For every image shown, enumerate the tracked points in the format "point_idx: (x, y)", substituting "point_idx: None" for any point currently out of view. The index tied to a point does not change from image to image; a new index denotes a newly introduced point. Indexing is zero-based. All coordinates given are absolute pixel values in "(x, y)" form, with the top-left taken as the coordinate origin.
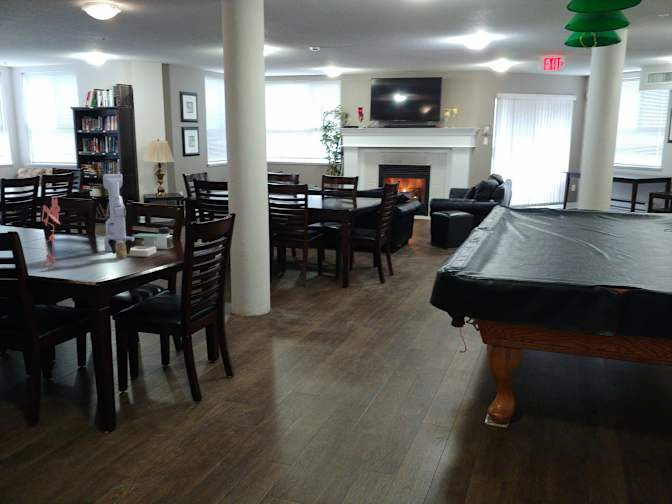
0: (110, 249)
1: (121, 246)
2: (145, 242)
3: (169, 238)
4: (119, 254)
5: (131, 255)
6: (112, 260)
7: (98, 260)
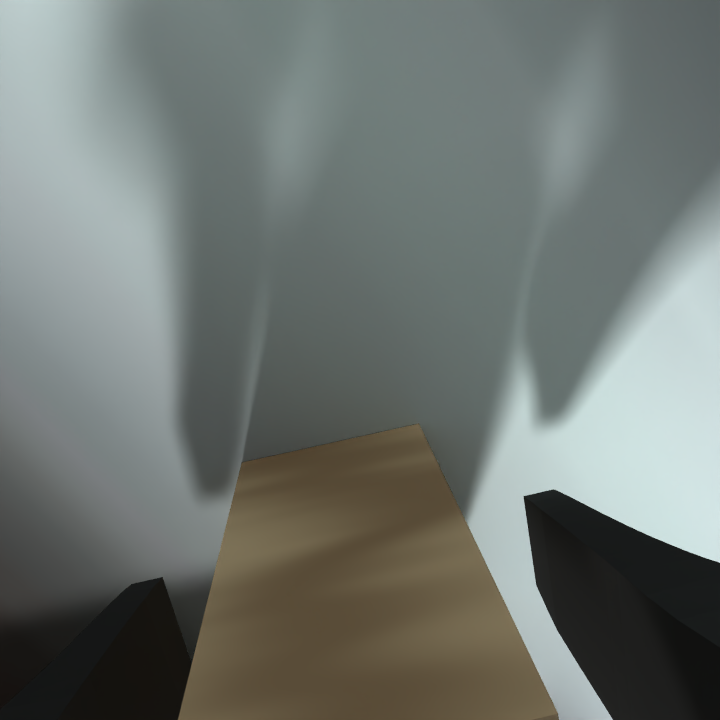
0: None
1: (244, 681)
2: None
3: None
4: (341, 486)
5: None
6: (350, 178)
7: (695, 44)
